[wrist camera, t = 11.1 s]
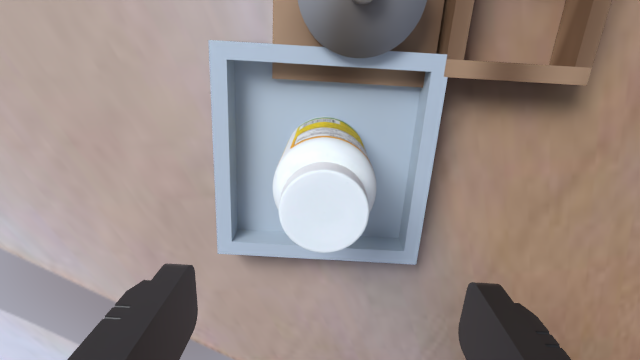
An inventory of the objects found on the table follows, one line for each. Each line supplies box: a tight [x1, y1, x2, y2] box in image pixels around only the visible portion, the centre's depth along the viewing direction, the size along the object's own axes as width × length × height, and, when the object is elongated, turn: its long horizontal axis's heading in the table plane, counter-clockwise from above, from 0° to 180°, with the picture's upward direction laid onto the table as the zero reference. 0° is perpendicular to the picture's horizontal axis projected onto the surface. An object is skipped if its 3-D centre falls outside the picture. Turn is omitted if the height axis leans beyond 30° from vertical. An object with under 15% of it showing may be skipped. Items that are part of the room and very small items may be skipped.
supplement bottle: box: [273, 117, 376, 253], centre depth 20 cm, size 5×5×10 cm
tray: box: [209, 40, 450, 265], centre depth 24 cm, size 14×14×2 cm
